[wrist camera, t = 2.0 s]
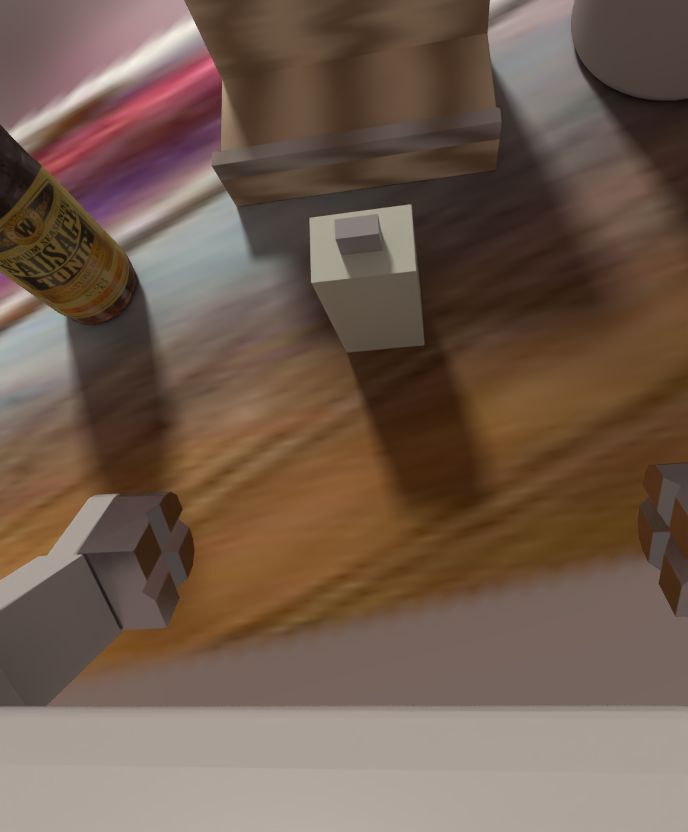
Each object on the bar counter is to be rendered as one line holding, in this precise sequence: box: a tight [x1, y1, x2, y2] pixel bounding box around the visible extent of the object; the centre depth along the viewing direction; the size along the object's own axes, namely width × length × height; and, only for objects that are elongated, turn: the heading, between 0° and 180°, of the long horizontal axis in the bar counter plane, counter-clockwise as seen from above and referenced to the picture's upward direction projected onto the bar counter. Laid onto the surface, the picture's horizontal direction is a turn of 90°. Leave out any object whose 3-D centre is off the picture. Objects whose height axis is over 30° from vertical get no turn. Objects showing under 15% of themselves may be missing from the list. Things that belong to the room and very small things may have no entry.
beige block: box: [310, 204, 425, 353], centre depth 32 cm, size 5×4×12 cm
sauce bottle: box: [0, 125, 136, 325], centre depth 32 cm, size 7×6×20 cm
